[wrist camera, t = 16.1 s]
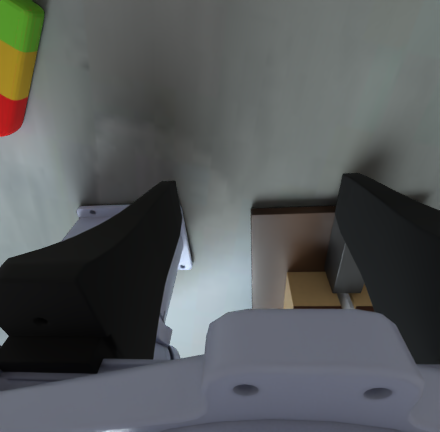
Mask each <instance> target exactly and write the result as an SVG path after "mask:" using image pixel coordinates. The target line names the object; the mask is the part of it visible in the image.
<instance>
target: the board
mask: <svg viewBox="0 0 440 432" xmlns="http://www.w3.org/2000/svg"><path fill="white" fill-rule="evenodd" d="M335 209H336V206H314V207H283V208H252V209H251V261H252V309H283V308H284V298H285V287H286V277H287V272H325V270H324V266H325V261H326V256H327V251H328V246H329V242H330V237H331V232H332V227H333V222H334V217H335Z"/></svg>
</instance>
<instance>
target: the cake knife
mask: <svg viewBox="0 0 440 432" xmlns="http://www.w3.org/2000/svg"><path fill="white" fill-rule="evenodd" d="M324 270H325V272H326V275H327V278H328V281H329V284H330V287H331V290H332V293H337V296H338V299H339V302H340V304H341V307H342V309H354V306H353V304H352V301H351V299H350V296H349V294H348V293H361V292H362V289H363V286H364V280H363V278H362V276H361V274H360V271H359V269H358V267H357V265H356V263H355V261H354V259H353V257H352V255H351V253H350V251H349V249H348V247H347V245H346V243H345V241H344V239H343V237H342V235H341V233H340V230H339V227H338V223H337V220H336V216H335V217H334V222H333V227H332V232H331V237H330V242H329V246H328V251H327V256H326V261H325V266H324Z"/></svg>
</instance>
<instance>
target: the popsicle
mask: <svg viewBox="0 0 440 432" xmlns="http://www.w3.org/2000/svg"><path fill="white" fill-rule="evenodd" d="M43 21H44V11H43V9H42V8H41V7H40V6H39V5H37V4H36V3H34V2H33V1H31V0H0V136H7V135H10V134H12V133H14V132H16V131H17V130H18V129H19V128H20V127H21V125H22V123H23V120H24V115H25V110H26V105H27V100H28V95H29V90H30V85H31V80H32V75H33V70H34V65H35V61H36V56H37V51H38V46H39V41H40V36H41V31H42V26H43Z"/></svg>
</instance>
